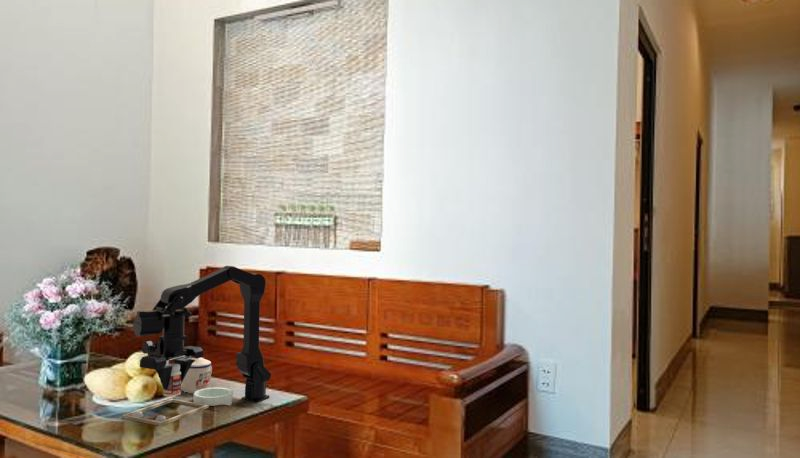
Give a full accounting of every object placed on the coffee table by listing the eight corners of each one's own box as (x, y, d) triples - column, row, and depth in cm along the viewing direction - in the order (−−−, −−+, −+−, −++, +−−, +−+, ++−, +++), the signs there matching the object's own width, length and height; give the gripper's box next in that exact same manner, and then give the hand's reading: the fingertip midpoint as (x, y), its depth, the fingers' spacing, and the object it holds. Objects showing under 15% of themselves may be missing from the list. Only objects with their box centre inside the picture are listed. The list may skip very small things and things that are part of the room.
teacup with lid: (198, 395, 190) (199, 358, 190) (175, 391, 193) (176, 356, 193) (221, 386, 201) (222, 351, 201) (199, 383, 204) (200, 349, 204)
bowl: (211, 397, 187) (211, 385, 187) (239, 402, 183) (239, 390, 183) (185, 407, 177) (186, 394, 177) (214, 412, 173) (215, 399, 173)
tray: (171, 405, 178) (172, 398, 178) (208, 412, 173) (208, 405, 173) (121, 423, 162) (122, 415, 162) (160, 431, 156) (160, 423, 156)
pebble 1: (137, 419, 165) (137, 408, 165) (145, 421, 164) (145, 410, 164) (128, 422, 162) (129, 411, 162) (136, 424, 161) (137, 413, 161)
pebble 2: (160, 424, 162) (161, 413, 162) (169, 426, 161) (169, 415, 161) (152, 427, 159) (152, 416, 159) (160, 429, 158) (160, 418, 158)
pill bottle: (174, 397, 166) (175, 367, 166) (159, 396, 167) (160, 366, 167) (184, 392, 171) (184, 363, 171) (169, 391, 172) (170, 362, 172)
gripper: (176, 325, 181) (175, 376, 181) (125, 334, 164) (124, 391, 164) (205, 328, 176) (203, 381, 176) (155, 338, 159) (154, 397, 159)
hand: (172, 387), depth 169 cm, fingers closed on pill bottle, 5 cm apart
